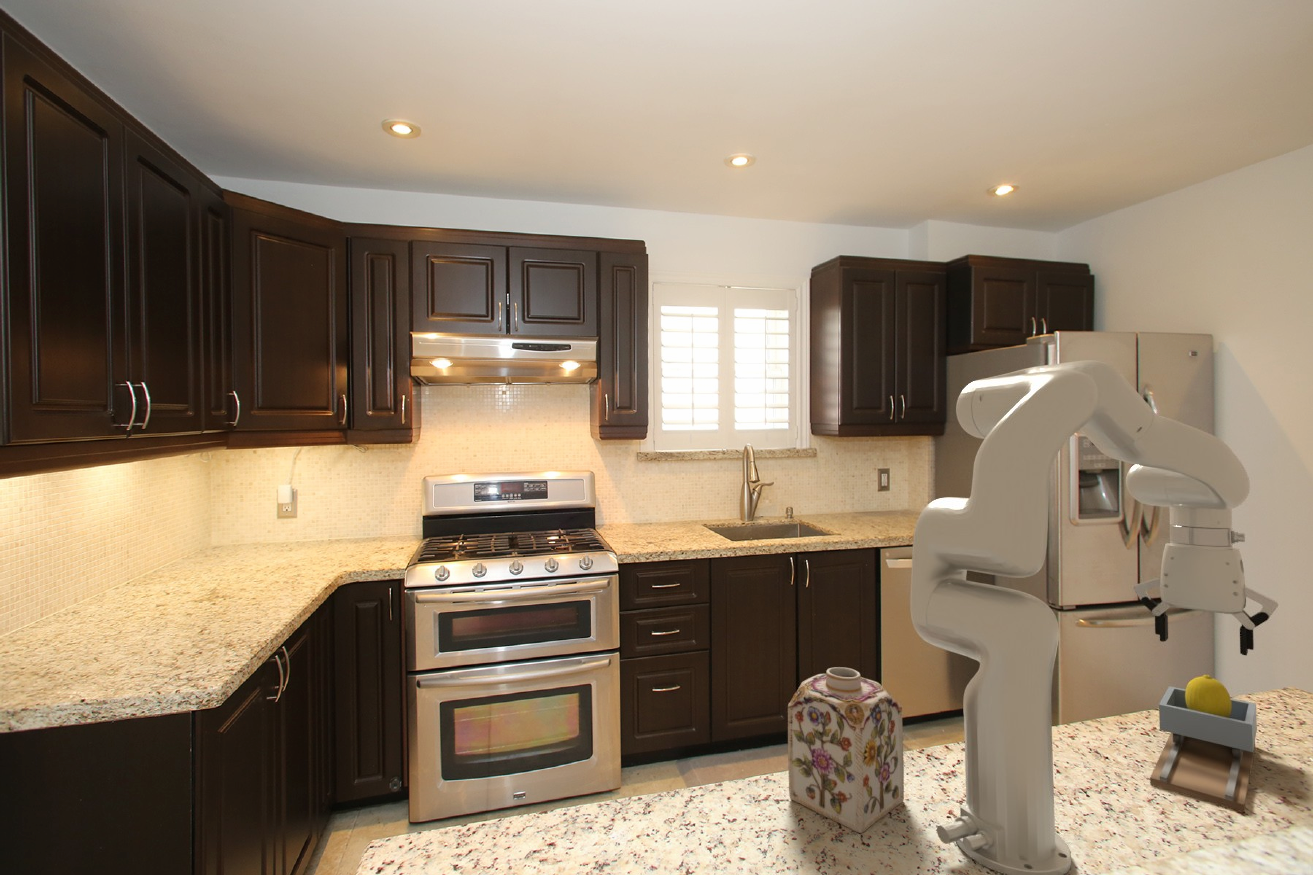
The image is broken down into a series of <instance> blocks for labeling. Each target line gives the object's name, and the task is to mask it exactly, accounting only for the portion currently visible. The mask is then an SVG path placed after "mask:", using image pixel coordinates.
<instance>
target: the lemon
mask: <svg viewBox="0 0 1313 875" xmlns="http://www.w3.org/2000/svg"><path fill="white" fill-rule="evenodd" d="M1185 690H1186V692H1185V700H1186V704H1187V707H1188V709H1190V710H1194V711H1199V712H1203V713H1208V714H1213V715H1217V716H1222V717H1227V718H1229V716H1230V713H1231V709H1232V703H1231V699H1232V698H1231V696H1230V692H1229V691H1228V689H1227V688H1226V687H1225V686H1224V684H1223V683H1221V682H1220V681H1218V680H1217V679H1215V678H1213V677H1211V676H1210V675H1209V674H1203V675H1202V676H1197V677H1194V678H1193V679H1191V680H1190V681H1189V682H1188V683H1187V685H1186V688H1185Z"/></svg>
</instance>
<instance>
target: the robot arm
mask: <svg viewBox="0 0 1313 875" xmlns="http://www.w3.org/2000/svg"><path fill="white" fill-rule="evenodd" d="M955 408H956V409H955V413H956V414H955V415H956V419H957V421H958V423H959V425H960V426H961V428H962V429H963V431H965V432H966V433H967V434H969V435H971V437H974V438H977V439H981V440H983V441H982V442H981V444H980V446H979V448H978V450H977V453H976V455H975V459H974V462H973V473H972V482H971V489H970V490H971V491H970V496H969V497H955V496H953V497H952V496H949V497H948V496H946V497H941V498H940V497H939V498H937V499H933V501H931V502H929V503H928V504H927V505H926V506H925V507H924V508H923V509H922V511H921V512H920V514H919V517H918V518H917V521H916V523H915V526H914V531H913V532H914V533H913V539H912V541H913V542H912V558H911V559H912V560H911V579H910V580H911V581H910V617H911V622H912V625H913V628H914V630H915V632H916V634H918V636H919V637H920V638H921V639H922V641H924V642H926V643H927V644H930V645H932V646H934V647H936V648H940V649H943V650H945V651H948V652H951V653H954V654H958V655H962V656H965V657H968V658H969V659H973V660H975V661H977V662H978V663H979V668H978V671H977V672H976V673H975V674H974V676H972V678H971V679H970V681H969V682H968V683H967V685H966V686H965V689H964V691H963V692H964V694H963V700H962V702H963V705H962V706H963V727H964V728H963V729H964V730H963V731H964V760H965V761H964V765H965V768H964V769H965V798H966V804H964V805H960V807H959V808H960V810H959V812H960V814H959V815H958V816H957V817H956V818H955V819H954V822H947V823H944V824H940V825H937V828H936V833H937V836H938V838H939V840H940V842H942V844H946V845H947V844H951V843H955V842H956V844H957V845H958V847H959V848H960V849H961V851H963V852H964V853H965V854H967V856H968V857H970V858H971V859H973V860H974V861H976V862H977V863H979V864H980V865H982V866H985V867H986V868H988V869H990V870H993V871H995V872H998V873H1000V874H1004V875H1065V874H1066V873H1068V872H1069V870H1070V868H1071V867H1072V854H1071V850H1070V848H1069V845H1068V844H1067V842H1065V840H1064V839H1063V838H1062V837H1061V836H1060V835H1059V834H1057V832H1056V823H1055V822H1056V819H1055V817H1056V816H1055V793H1054V791H1055V790H1054V789H1055V788H1054V758H1053V757H1054V755H1053V752H1054V751H1053V724H1052V722H1053V721H1052V685H1053V675H1054V668H1055V662H1056V656H1057V650H1058V646H1059V639H1060V626H1059V621H1058V619H1057V616H1056V614H1055V612H1054V611H1053V610H1052V608H1051V607H1050V606H1049V605H1048V604H1047V603H1045V601H1043V600H1041V599H1040V598H1038V597H1037V596H1035V595H1032V594H1029V593H1027V592H1024V591H1022V590H1018V589H1013V588H1010V587H1009V588H1008V587H1003V586H998V585H993V584H988V583H981V582H976V581H971V580H967V573H968V572H967V571H971V572H975V573H979V574H980V573H982V574H987V575H993V576H994V575H995V576H999V577H1006V578H1016V579H1017V578H1019V579H1021V578H1028V577H1029V578H1030V577H1032V576H1034V575H1036V574H1037V573H1038V572H1039V571H1040V570H1041V569H1042V567H1043V565H1044V564H1045V559H1046V555H1047V547H1048V529H1049V525H1048V524H1049V504H1050V502H1049V501H1050V499H1049V498H1050V482H1051V481H1050V480H1051V473H1052V472H1051V471H1052V468H1053V465H1054V462H1055V460H1056V458H1057V455H1058V454H1059V452H1060V451H1061V450H1062V448H1063V446H1064V445H1065V444H1066V442H1068V440H1069V439H1071V437H1073V436H1074V435H1075V434H1076V433H1077V432H1079V431H1080V432H1081V434H1083V435H1084V436H1085V437H1086V438H1087V439H1088V441H1090V442H1091V443H1092V444H1093V446H1095V447H1096V448H1097V449H1098V450H1099V451H1100V453H1102V454H1103V455H1105V456H1107V457H1108V458H1111V459H1114V460H1116V461H1121V462H1124V463H1128V464H1131V465H1133V466H1131V468H1129V470H1128V471H1127V474H1126V478H1125V485H1126V488H1127V491H1128V493H1129V495H1130V496H1131V497H1132V498H1133V499H1134V500H1136V501H1137V502H1139V503H1141V504H1143V505H1147V506H1153V507H1163V508H1164V507H1166V508H1169V539H1170V540H1169V542H1170V543H1169V542H1167V543H1165V546H1164V548H1163V553H1162V560H1161V568H1160V577H1156V578H1154V579H1151V580H1146V581H1144V582H1140V583H1137V584H1135V585H1134V586H1133V589H1134V592H1135V594H1136V595H1137V596H1138V598H1139V600H1140V601H1141V604H1143V606H1145V608H1147V609H1148V610H1149V611H1150V612H1151V614H1152V615H1153V616H1154V633H1155V635H1159V642H1162V643H1163V642H1166V641H1167V640H1169V617H1168V615H1167V614H1166V613H1167V610H1168V609H1169V608H1171V607H1173V608H1174V607H1175V608H1182V609H1187V610H1193V611H1202V612H1207V613H1208V612H1210V613H1217V614H1224V615H1225V614H1226V615H1232V616H1233V617H1234V618H1235V619H1236V620H1237V621H1238V622H1239V623H1240V624H1241V626H1240V627H1239V653H1240V655H1242V656H1245V657H1246V656H1248V652H1249V650H1251V651H1254V648H1255V647H1254V646H1255V642H1254V640H1255V639H1254V630H1255V628H1257V627H1258V626H1260V625H1261V624H1263V623H1266V622H1267V621H1269V619H1270V617H1271V616H1272V615H1273V614H1274V612H1275V611H1276V609H1277V608H1278V606H1279V603H1278V602H1277V601H1276V600H1275V599H1272V598H1270V597H1268V596H1266V595H1264V594H1262V593H1260V592H1258V591H1256V590H1254V589H1252V588H1251V587H1248V586H1246V579H1245V578H1246V577H1245V570H1244V569H1245V568H1244V564H1243V563H1244V561H1243V559H1242V555H1241V552H1240V549H1239V548H1236V547H1233V544H1236V543H1240V542H1241V543H1245V542H1246V534H1245V533H1243V532H1237V531H1235V530H1233V516H1232V514H1233V511H1232V509H1235V508H1238V507H1239V506H1241V505H1243V503H1245V501H1246V500H1247V498H1248V496H1249V494H1250V490H1251V489H1250V487H1251V486H1250V478H1249V475H1248V472H1247V470H1246V468H1245V467H1244V465H1243V462H1242V461H1241V460H1240V459H1239V457H1238V456H1237V455H1236V454H1235V453H1234V451H1233V450H1232V449H1231V448H1230V447H1229V445H1228V444H1227V443H1225V442H1224V441H1222V440H1221V439H1220V438H1218V437H1216V436H1215V435H1213V434H1211V433H1210V432H1209V433H1208V432H1206V431H1204V430H1202V429H1200V428H1199V429H1198V428H1196V427H1194V426H1191V425H1188V424H1186V423H1183V422H1180V421H1178V420H1176V419H1173V418H1169V417H1167V416H1162V415H1159V414H1157V413H1156V411H1155V410H1154V409H1153V408H1152V407H1151V406H1150V405H1149V404H1148V403H1147V401H1146V400H1145V399H1144V398H1143V397H1142V396H1141V395H1140V394H1139V393H1138V391H1137V390H1136V389H1135V388H1134V386H1132V384H1130V382H1129V381H1128V380H1127V379H1126V378H1125V377H1124V376H1123V374H1122V373H1121V372H1120V371H1119V369H1117V368H1116V367H1114V365H1111V364H1110V363H1108V362H1105V361H1102V360H1095V359H1094V360H1093V359H1088V360H1087V359H1086V360H1085V359H1084V360H1076V361H1068V362H1067V361H1066V362H1059V363H1054V364H1046V365H1039V366H1032V367H1028V368H1022V369H1019V370H1016V371H1011V372H1008V373H1004V374H1003V373H1002V374H999V375H995V376H990V377H989V376H988V377H987V378H981V379H980V378H979V379H976V380H974V381H972V382H970V383H968V385H966V386H965V387H964V388H963V389H962V391H961V392H960V394H959V396H958V397H957V401H956V406H955ZM1155 588H1160V589H1159V590H1160V592H1159V594H1160V600H1161V602H1159V603H1157V602H1156V601H1154V599H1152V597H1150V595H1149V593H1148V591H1149V590H1152V589H1155ZM1247 598H1248V599H1250V600H1252V601H1254V602H1256V603H1258V604H1260V605H1261V606H1262V608H1261V609H1260V610H1259V612H1257V613H1255V614H1253V615H1252V616H1251V615H1250V614H1249V613H1248V612H1247V611H1246V610H1245V608H1246V606H1247Z"/></svg>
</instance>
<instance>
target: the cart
mask: <svg viewBox="0 0 1313 875" xmlns="http://www.w3.org/2000/svg"><path fill="white" fill-rule="evenodd" d="M1185 692H1186V688H1185V689H1184V688H1179V687H1175V686H1169V685H1168V687H1167V689H1166V691H1165V693H1164V695H1163V697H1162V698H1161V700H1160V702H1159V703H1158V711H1159V712H1158V715H1159V716H1158V717H1159V730H1160V731H1164V732H1166V733H1167V732H1168V733H1170V734H1171V733H1173V743H1177V744H1180V743H1181V735H1183V736H1187V737H1192V738H1196V739H1200V740H1204V741H1208V742H1212V743H1217V744H1221V745H1225V746H1229V747H1232V754H1233V757H1234V758H1238V759H1240V758H1241V749H1242V750H1246V751H1250V752H1253V749H1254V743H1255V744H1256V737H1257V732H1258V731H1257V730H1258V726H1257V725H1258V723H1257V722H1258V721H1257V718H1258V717H1257V703H1256V702H1249V701H1245V700H1240V699H1235V698H1231V703H1232V709H1231V713H1230V716H1229V718H1227V717H1222V716H1217V715H1213V714H1208V713H1203V712H1199V711H1194V710H1190V709H1188V707H1187V704H1186V700H1185Z"/></svg>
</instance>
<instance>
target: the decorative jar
mask: <svg viewBox="0 0 1313 875" xmlns="http://www.w3.org/2000/svg"><path fill="white" fill-rule="evenodd" d="M787 754H788V755H787V768H788V792H789V799H790V800H791V801H793V802H795V803H797V804H799V805H802V806H804V807H805V808H807V809H808V810H809V809H810V810H811V811H813V812H815V813H817V814H820V816H821V815H822V816H823V817H824V818H825V817H826V818H827V819H830V820H832V821H834V822H836V823H838V824H840V825H842V826H844V827H846V828H848V829H850V830H853V831H854V832H857V833H858V834H862V833H864V832H866V830H867V829H869V828H871V826H872V825H874V824H875V823H876V822H877V821H878V820H880V819H881V818H883V817H884V816H886V815H887V814H888V813H889V812H891V811H892V810H893V809H895V808H896V807H897V806H900V805H901V803H903V802H904V799H905V773H904V772H905V770H904V769H905V762H904V761H905V758H904V755H905V754H904V734H903V707H902V706H901V705H900V703H899V702H898V701H897V699H895V698H894V697H893V694H892V693H890V692H889V691H888V690H887V689H885V687H884V686H882V685H881V683H879V682H878V681H875V680H872V679H868V678H865V677H862V676H861V673H860V672H859V671H857V670H855V669H853V668H850V667H845V666H844V667H840V666H838V667H837V666H836V667H830V668H827V670H826V673H819V674H815V675H813V676H811V677H808V678H807V679H805V680H803V681H802V682H801V683H800V685H799V687H798V689H797V690H796V692H795V693H794V694H793V696H792V698H791V700H790V702H788V704H787Z"/></svg>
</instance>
